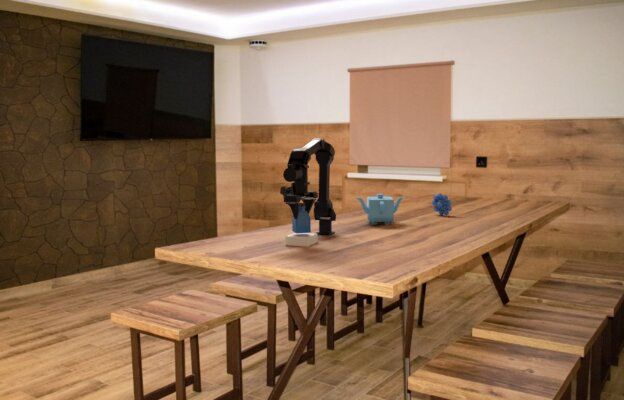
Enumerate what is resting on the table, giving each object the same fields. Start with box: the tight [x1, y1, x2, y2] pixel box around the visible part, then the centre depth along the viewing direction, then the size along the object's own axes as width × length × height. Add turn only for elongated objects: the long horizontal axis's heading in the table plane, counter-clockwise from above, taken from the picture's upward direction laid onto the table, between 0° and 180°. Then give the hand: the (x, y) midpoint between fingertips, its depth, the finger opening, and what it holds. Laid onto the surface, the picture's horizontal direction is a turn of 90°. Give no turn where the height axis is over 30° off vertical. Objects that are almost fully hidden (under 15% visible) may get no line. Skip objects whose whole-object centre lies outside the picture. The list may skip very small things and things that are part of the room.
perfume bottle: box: [291, 202, 312, 233], centre depth 247 cm, size 6×6×12 cm
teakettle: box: [355, 193, 406, 226], centre depth 299 cm, size 19×19×15 cm
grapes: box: [431, 192, 453, 216], centre depth 322 cm, size 12×7×12 cm, turn 52°
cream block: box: [285, 232, 318, 248], centre depth 248 cm, size 10×10×4 cm
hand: (301, 217), depth 247 cm, fingers closed on perfume bottle, 9 cm apart
